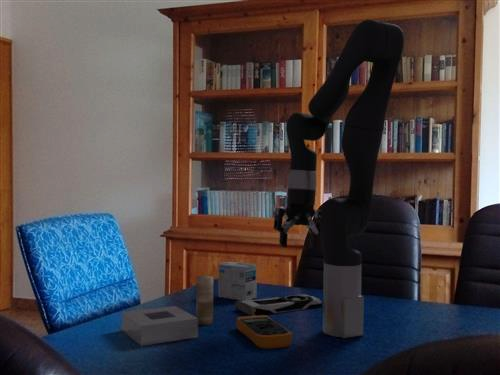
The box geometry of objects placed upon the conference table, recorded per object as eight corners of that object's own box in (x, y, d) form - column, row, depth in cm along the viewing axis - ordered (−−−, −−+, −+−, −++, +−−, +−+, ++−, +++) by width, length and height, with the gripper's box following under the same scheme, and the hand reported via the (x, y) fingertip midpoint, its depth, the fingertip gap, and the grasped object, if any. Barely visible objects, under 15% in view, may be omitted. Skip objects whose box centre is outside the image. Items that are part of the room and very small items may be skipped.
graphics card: (234, 300, 157) (305, 291, 170) (234, 312, 157) (305, 302, 170) (253, 308, 149) (325, 298, 161) (252, 320, 149) (325, 309, 162)
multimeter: (259, 351, 122) (259, 336, 122) (235, 329, 139) (235, 316, 139) (295, 348, 124) (295, 333, 124) (266, 327, 141) (266, 313, 141)
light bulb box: (257, 297, 174) (257, 263, 173) (245, 301, 168) (246, 266, 168) (229, 293, 179) (229, 260, 179) (217, 297, 174) (217, 263, 173)
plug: (215, 323, 143) (216, 277, 142) (200, 325, 140) (200, 279, 140) (208, 319, 146) (208, 274, 146) (193, 321, 144) (193, 276, 144)
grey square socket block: (197, 337, 130) (198, 318, 130) (141, 345, 123) (141, 325, 123) (175, 323, 143) (175, 305, 142) (122, 330, 135) (122, 312, 135)
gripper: (284, 186, 142) (280, 248, 142) (331, 189, 148) (327, 249, 148) (272, 185, 149) (268, 245, 149) (317, 188, 155) (313, 246, 155)
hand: (297, 247), depth 148 cm, fingers open, 8 cm apart
